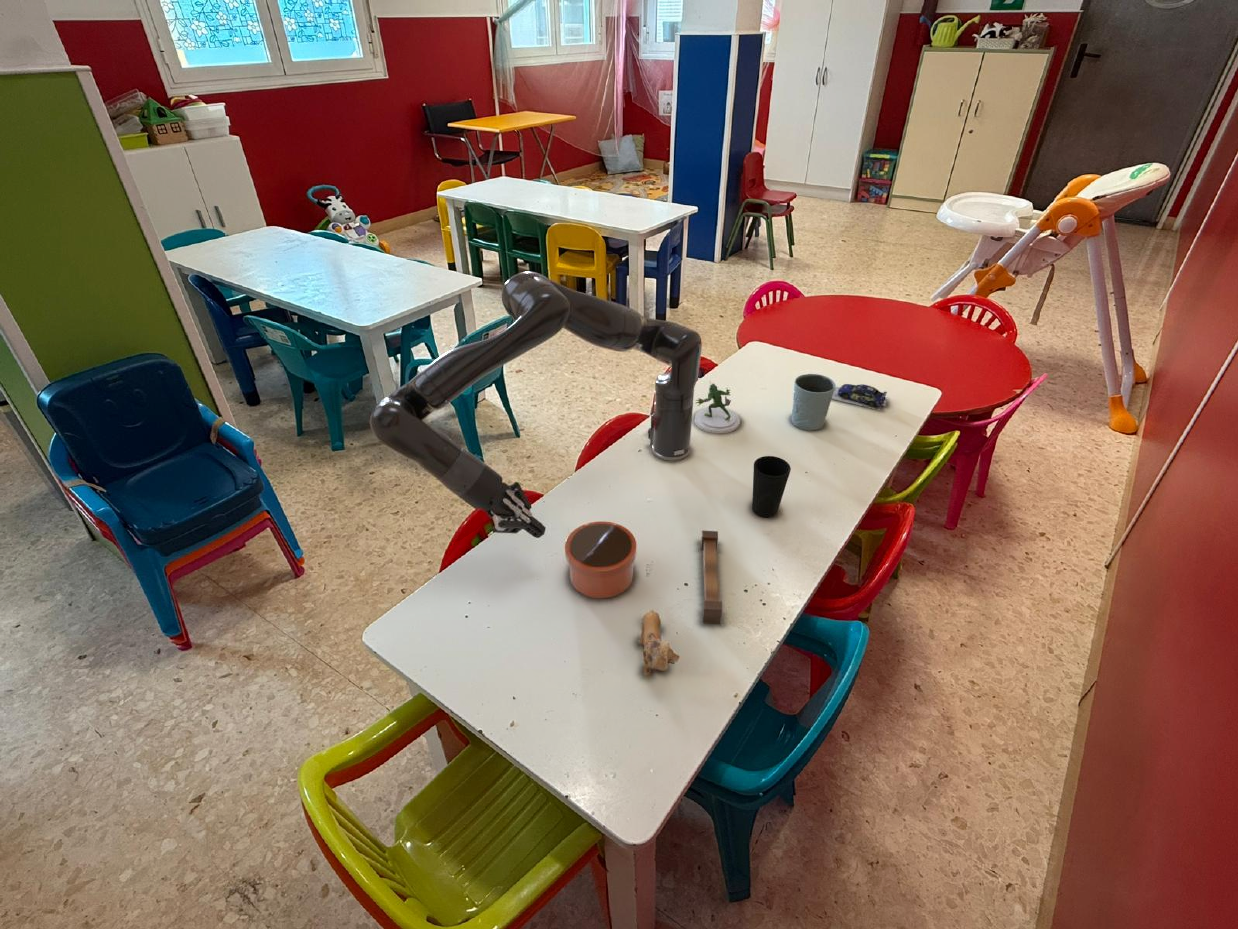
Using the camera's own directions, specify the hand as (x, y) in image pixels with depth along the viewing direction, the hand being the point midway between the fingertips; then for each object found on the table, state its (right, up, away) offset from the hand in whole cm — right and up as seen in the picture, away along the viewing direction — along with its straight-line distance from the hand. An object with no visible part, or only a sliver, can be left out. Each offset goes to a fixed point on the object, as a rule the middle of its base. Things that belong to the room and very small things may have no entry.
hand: (542, 533), depth 119 cm
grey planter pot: (+65, +24, +50) cm, 86 cm away
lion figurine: (+21, -20, -10) cm, 31 cm away
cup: (+47, +3, +21) cm, 51 cm away
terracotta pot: (+11, -9, +5) cm, 15 cm away
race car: (+82, +31, +60) cm, 106 cm away
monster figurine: (+41, +25, +51) cm, 70 cm away
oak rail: (+32, -10, +4) cm, 34 cm away
